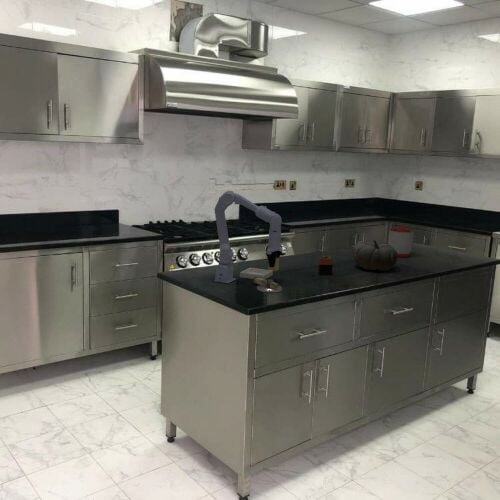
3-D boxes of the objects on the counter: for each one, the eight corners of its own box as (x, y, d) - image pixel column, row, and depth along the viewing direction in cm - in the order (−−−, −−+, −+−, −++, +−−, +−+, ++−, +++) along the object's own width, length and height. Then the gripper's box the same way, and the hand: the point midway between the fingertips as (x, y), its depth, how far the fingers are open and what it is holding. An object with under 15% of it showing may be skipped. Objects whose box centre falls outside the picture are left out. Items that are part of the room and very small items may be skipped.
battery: (318, 273, 293) (319, 255, 291) (330, 273, 293) (331, 255, 291) (319, 275, 289) (320, 256, 287) (332, 275, 289) (333, 257, 287)
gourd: (342, 259, 316) (350, 231, 312) (377, 265, 326) (386, 237, 322) (363, 274, 294) (372, 243, 290) (401, 279, 303) (410, 250, 299)
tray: (263, 280, 272) (263, 275, 272) (239, 277, 277) (239, 272, 277) (272, 275, 284) (272, 270, 283) (249, 272, 289) (249, 267, 288)
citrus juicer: (419, 258, 344) (422, 226, 341) (394, 258, 340) (397, 226, 336) (406, 253, 359) (409, 223, 355) (382, 253, 355) (385, 223, 351)
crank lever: (278, 288, 254) (279, 281, 254) (274, 289, 252) (274, 282, 252) (256, 281, 265) (256, 274, 265) (251, 282, 263) (251, 275, 263)
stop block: (275, 271, 265) (276, 259, 264) (268, 270, 266) (268, 258, 265) (278, 269, 268) (279, 257, 267) (271, 268, 270) (271, 256, 269)
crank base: (277, 293, 249) (277, 291, 249) (253, 290, 253) (253, 288, 253) (285, 287, 260) (285, 286, 260) (262, 284, 264) (262, 282, 264)
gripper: (277, 242, 256) (275, 270, 259) (287, 237, 270) (285, 264, 272) (263, 240, 259) (262, 268, 262) (274, 236, 272) (272, 262, 275)
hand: (273, 266), depth 267 cm, fingers closed on stop block, 4 cm apart
